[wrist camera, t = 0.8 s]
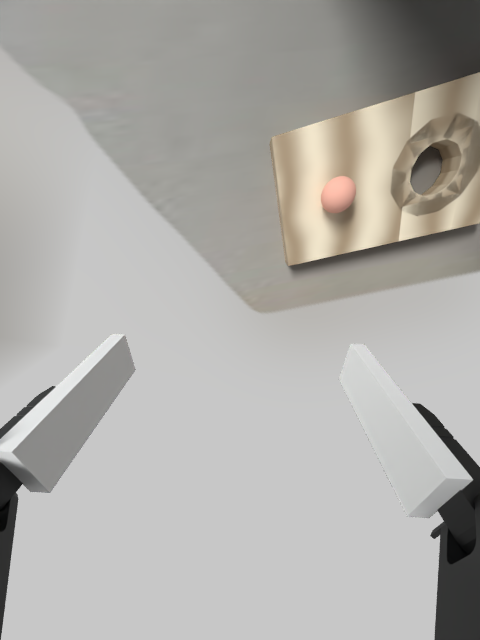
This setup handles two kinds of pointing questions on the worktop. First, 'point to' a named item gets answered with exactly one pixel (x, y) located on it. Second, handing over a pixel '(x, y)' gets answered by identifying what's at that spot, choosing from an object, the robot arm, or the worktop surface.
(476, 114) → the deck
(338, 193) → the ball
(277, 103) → the worktop surface
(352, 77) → the worktop surface
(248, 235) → the worktop surface
